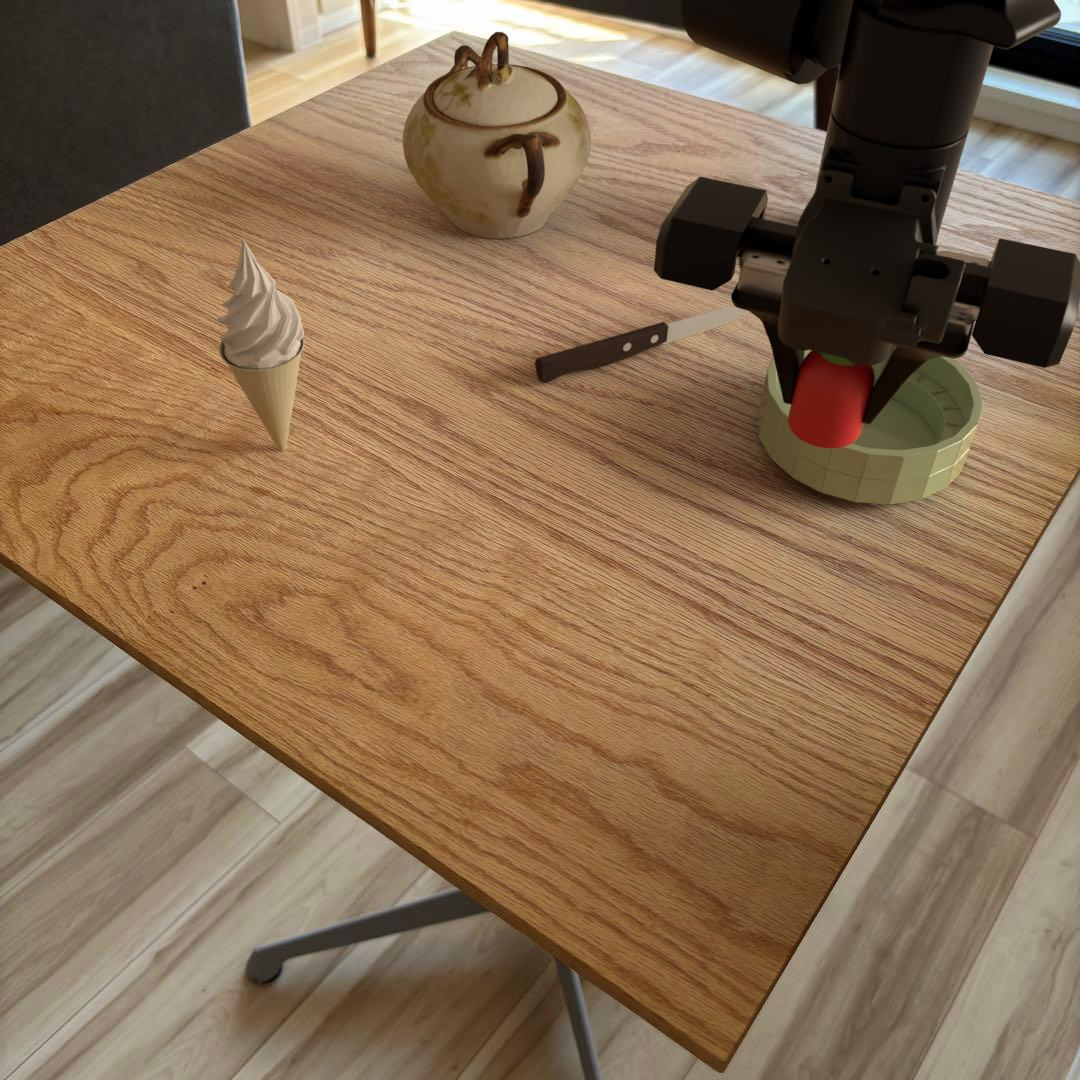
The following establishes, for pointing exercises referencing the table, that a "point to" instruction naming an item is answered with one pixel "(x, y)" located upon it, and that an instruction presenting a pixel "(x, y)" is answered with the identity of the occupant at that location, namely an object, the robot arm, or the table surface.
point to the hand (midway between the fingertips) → (827, 409)
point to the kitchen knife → (630, 343)
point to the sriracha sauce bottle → (830, 400)
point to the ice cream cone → (263, 344)
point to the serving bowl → (885, 438)
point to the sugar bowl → (496, 143)
